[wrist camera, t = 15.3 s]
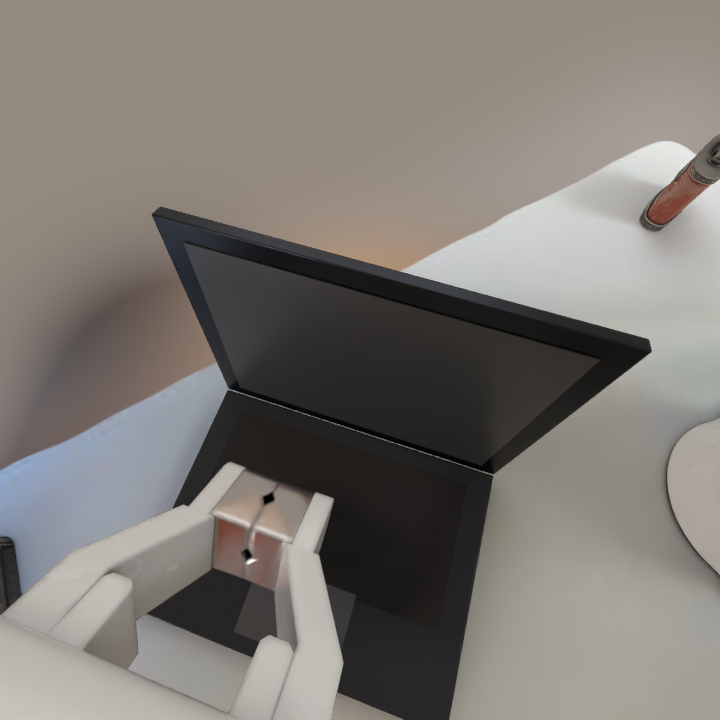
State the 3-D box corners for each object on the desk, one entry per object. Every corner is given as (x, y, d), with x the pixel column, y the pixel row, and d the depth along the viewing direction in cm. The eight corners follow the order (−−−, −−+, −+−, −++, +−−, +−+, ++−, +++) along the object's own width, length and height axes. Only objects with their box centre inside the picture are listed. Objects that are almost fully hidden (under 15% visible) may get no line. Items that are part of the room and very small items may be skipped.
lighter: (665, 183, 44) (747, 100, 35) (690, 198, 43) (782, 117, 34) (633, 220, 42) (711, 143, 33) (659, 236, 41) (747, 161, 32)
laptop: (440, 721, 26) (446, 738, 24) (139, 599, 29) (125, 606, 27) (486, 476, 32) (494, 475, 30) (234, 394, 35) (227, 389, 33)
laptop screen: (653, 353, 16) (649, 338, 16) (149, 214, 18) (160, 205, 19) (493, 476, 30) (494, 466, 31) (227, 389, 33) (232, 381, 33)
